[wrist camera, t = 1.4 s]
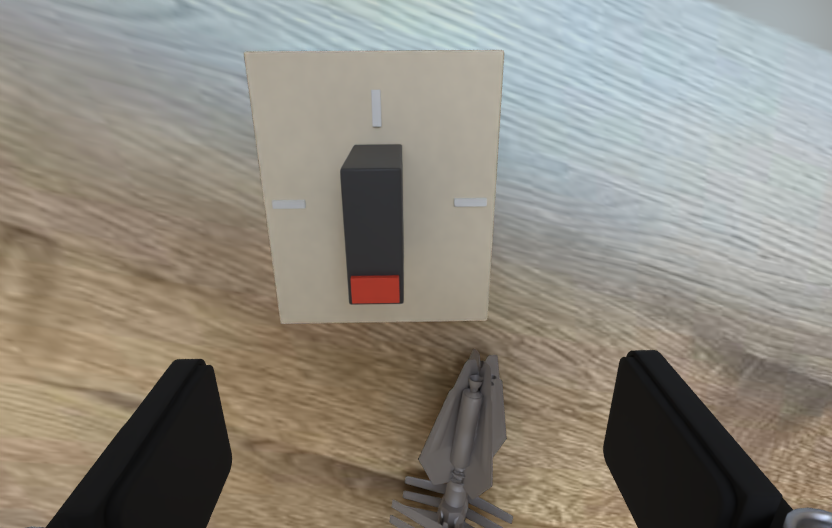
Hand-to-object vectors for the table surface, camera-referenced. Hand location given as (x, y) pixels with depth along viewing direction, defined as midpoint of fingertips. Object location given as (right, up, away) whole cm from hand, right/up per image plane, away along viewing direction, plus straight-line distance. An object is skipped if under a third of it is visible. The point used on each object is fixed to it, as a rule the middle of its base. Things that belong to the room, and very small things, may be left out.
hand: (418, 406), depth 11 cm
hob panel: (-2, +7, +12) cm, 14 cm away
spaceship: (+1, -16, +23) cm, 28 cm away
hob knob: (-2, +6, +10) cm, 11 cm away
